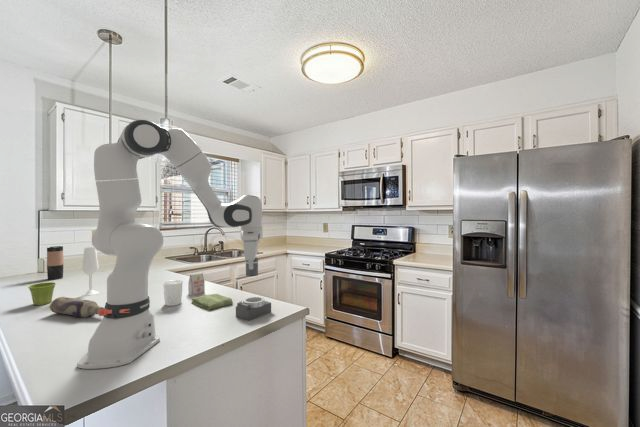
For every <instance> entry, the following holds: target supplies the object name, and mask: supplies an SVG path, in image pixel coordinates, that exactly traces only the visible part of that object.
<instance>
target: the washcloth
mask: <svg viewBox="0 0 640 427" xmlns="http://www.w3.org/2000/svg"><path fill="white" fill-rule="evenodd" d="M191 304H192V305H194V306H198V307H200V308H202V309H205V310H207V311H211V310H214V309H219V308H222V307H227V306H230V305H233V299H232V297H228V296H225V295H221V294H219V293H212V294H205V295H204V294H203V295H201V296H197V297H196V296H195V297H192V298H191Z"/></svg>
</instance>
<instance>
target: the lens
mask: <svg viewBox="0 0 640 427" xmlns="http://www.w3.org/2000/svg"><path fill="white" fill-rule="evenodd" d="M257 276H259V258H258V257H257V256H256V257H255V259H254V268H253V269H249V263H248V260H245V277H257Z"/></svg>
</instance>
